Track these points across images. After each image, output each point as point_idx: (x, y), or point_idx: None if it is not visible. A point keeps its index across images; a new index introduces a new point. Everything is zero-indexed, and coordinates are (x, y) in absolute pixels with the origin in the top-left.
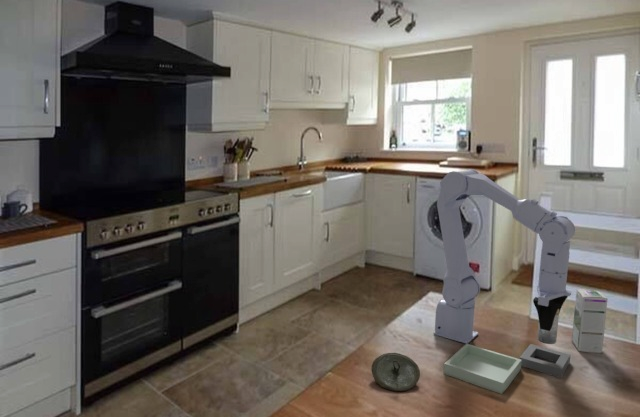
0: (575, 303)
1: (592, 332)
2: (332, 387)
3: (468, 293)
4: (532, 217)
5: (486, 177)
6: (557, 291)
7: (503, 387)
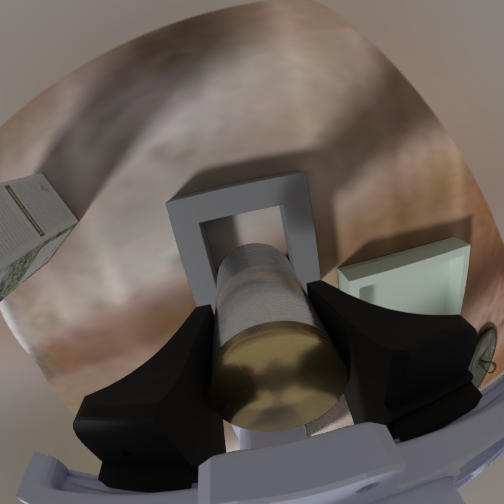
0: None
1: (20, 209)
2: (498, 366)
3: None
4: None
5: None
6: (455, 490)
7: (458, 241)
